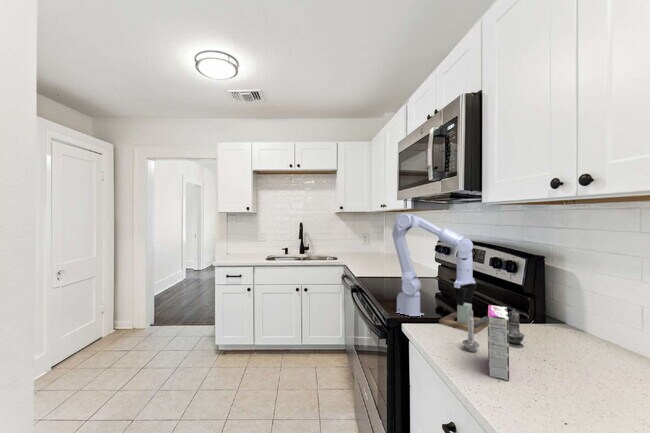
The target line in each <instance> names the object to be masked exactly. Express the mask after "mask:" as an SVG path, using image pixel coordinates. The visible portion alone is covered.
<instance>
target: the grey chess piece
mask: <svg viewBox="0 0 650 433" xmlns="http://www.w3.org/2000/svg"><path fill="white" fill-rule="evenodd" d="M508 319H509V348H510V347H511V348H515V349H522V348H524V345H523V343H522V342H523V340H524V338H525V334H524V333H522V332H521V331H520V325H521V322H520V313H518V312H517V311H516V309H515V308H513V309H512V310H511V311H509V312H508Z"/></svg>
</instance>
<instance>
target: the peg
mask: <svg viewBox="0 0 650 433" xmlns="http://www.w3.org/2000/svg"><path fill="white" fill-rule="evenodd" d="M456 309H457V310H456V311H457V312H456V313H457V320H456V322H460V323H464V324H467V325H468V317H469V310H470V309H471V310H473V304H472V303H470V302H464V305H463V306H461V305H457V306H456Z"/></svg>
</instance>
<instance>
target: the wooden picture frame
mask: <svg viewBox="0 0 650 433" xmlns="http://www.w3.org/2000/svg"><path fill="white" fill-rule="evenodd" d="M456 318H457V312H452V313H450V314H448V315H445V316H444V317H442V318H440V319H438V324H440V325H442V326H443V325H444V326H447V327H449V328H450V327H451V328H453V329H456V330H457V329H458V330H462V331H464V332H468V325H467V324H464V323H460V322H457V320H456V321H455V319H456ZM473 318H474V319H473V320H474V321H473V322H474V323H475V322H476V321H478V320H480V319H481V318H482V317H481V318H480V317H476V316H473ZM485 328H488V321H487V322H486V323H484V324H483V325H481V326H479V327H478V328H476V329H475V328H474V335H475V334H476V335H477V334H478V333H480V332H481V331H482V330H484V329H485Z"/></svg>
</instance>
